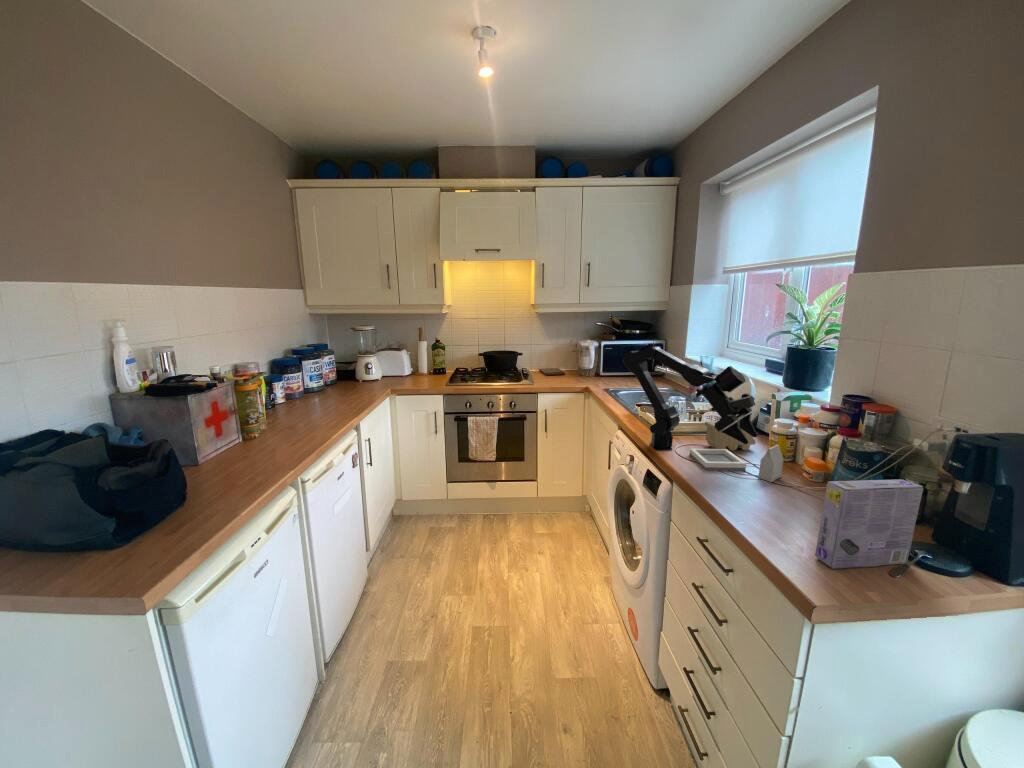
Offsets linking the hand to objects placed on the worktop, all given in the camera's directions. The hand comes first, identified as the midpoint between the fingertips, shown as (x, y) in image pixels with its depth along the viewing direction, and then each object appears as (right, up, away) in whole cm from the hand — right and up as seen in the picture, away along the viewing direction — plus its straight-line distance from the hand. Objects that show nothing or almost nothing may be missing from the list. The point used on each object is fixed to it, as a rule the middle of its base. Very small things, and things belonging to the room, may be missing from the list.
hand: (751, 440), depth 130 cm
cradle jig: (-7, -9, +9) cm, 14 cm away
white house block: (+4, -12, -2) cm, 12 cm away
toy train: (+4, -6, +22) cm, 24 cm away
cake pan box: (-1, -20, -43) cm, 47 cm away
